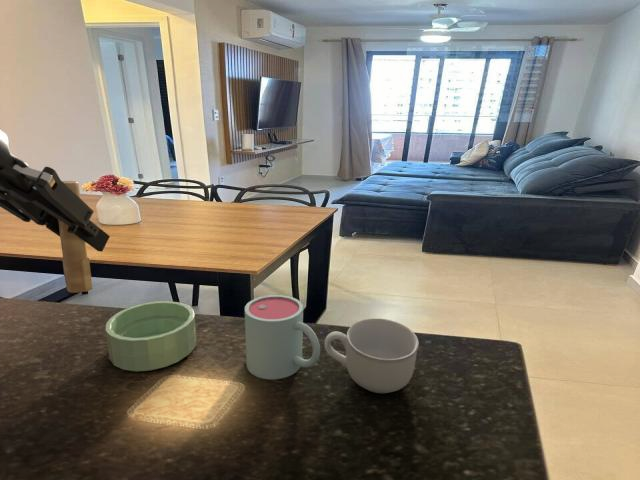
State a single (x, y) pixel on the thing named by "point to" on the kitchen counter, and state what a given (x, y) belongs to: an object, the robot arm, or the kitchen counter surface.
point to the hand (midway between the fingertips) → (93, 242)
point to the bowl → (151, 335)
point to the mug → (277, 337)
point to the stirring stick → (74, 255)
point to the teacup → (377, 354)
